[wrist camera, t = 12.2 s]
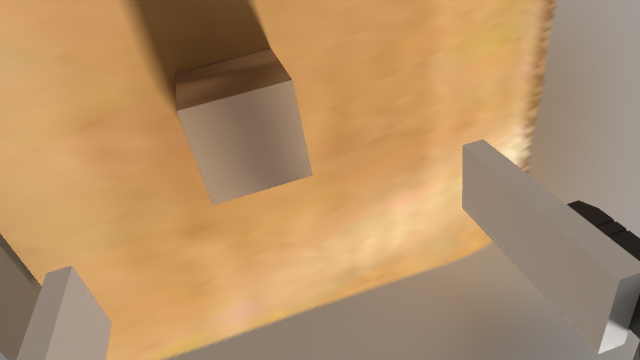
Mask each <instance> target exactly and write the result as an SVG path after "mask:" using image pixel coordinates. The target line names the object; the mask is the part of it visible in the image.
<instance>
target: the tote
mask: <svg viewBox="0 0 640 360" xmlns="http://www.w3.org/2000/svg"><path fill="white" fill-rule="evenodd" d="M41 288H42V287H41V286H40V285H39V283H38V282H37V281H36V279H35V278H34V277H33V276H32V274H31V273H30V272H29V270H28V269H27V268H26V267H25V265H24V264H23V263H22V261H21V260H20V259H19V258H18V256H17V255H16V254H15V252H14V251H13V250H12V249H11V247H10V246H9V245H8V243H7V242H6V241H5V240H4V238H3V237H2V236H1V234H0V360H17V357H18V354H19V351H20V348H21V345H22V342H23V339H24V337H25V334H26V331H27V328H28V325H29V322H30V319H31V317H32V314H33V311H34V308H35V305H36V302H37V299H38V297H39V294H40V291H41Z"/></svg>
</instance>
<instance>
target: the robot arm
mask: <svg viewBox="0 0 640 360" xmlns="http://www.w3.org/2000/svg"><path fill="white" fill-rule="evenodd" d="M462 208H463V209H464V210H465V211H466V212H467V213H468V215H469V216H470V217H471V218H472V219H473V220H474V221H475V222H476V223H477V224H478V225H479V226H480V227H481V229H482V230H483V231H484V232H485V233H486V234H487V235H488V236H489V237H490V238H491V239H492V240H493V241H494V242H495V244H496V245H497V246H498V247H499V248H500V249H501V250H502V251H503V252H504V253H505V254H506V255H507V256H508V258H509V259H510V260H511V261H512V262H513V263H514V264H515V265H516V266H517V267H518V268H519V269H520V270H521V272H522V273H523V274H524V275H525V276H526V277H527V278H528V279H529V280H530V281H531V282H532V283H533V284H534V286H535V287H537V289H538V290H539V291H540V292H541V293H542V294H543V295H544V296H545V297H546V298H547V300H548V301H549V302H550V303H551V304H552V305H553V306H554V307H555V308H556V309H557V310H558V311H559V312H560V314H561V315H562V316H563V317H564V318H565V319H566V320H567V321H568V322H569V323H570V324H571V325H572V326H573V328H574V329H575V330H576V331H577V332H578V333H579V334H580V335H581V336H582V337H583V338H584V339H585V340H586V342H588V344H589V345H590V346H591V347H592V348H593V349H594V350H595V351H596V352H597V353H598V354H599V353H602V352H605V351H607V350H610V349H612V348H615V347H618V346H620V345H623V344H624V343H625V340H626V336H627V334H628V331H629V329H630V330H631V331H632V332H633V333H634V334H635V335H636V336H637V337H638V338H639V339H640V238H638V237H637V236H636V235H634V234H633V233H632V232H630V231H627V230H626V228H625V227H623V226H622V225H621V224H619V223H618V222H614V220H613V219H612V218H611V217H610V216H608V215H607V214H606V213H604V212H603V211H601V210H600V209H599V208H596V207H594V206H592V205H589V204H586V203H584V202H581V201H576V202H572V203H569V204H565V203H564V202H563V201H562V200H560V199H559V198H558V197H556V196H555V195H554V194H552V193H551V192H550V191H549V190H547V189H546V188H545V187H543V186H542V185H541V184H540V183H538V182H537V181H536V180H534V179H533V178H532V177H531V176H529V175H528V174H527V173H526V172H524V171H523V170H522V169H520V168H519V167H518V166H517V165H515V164H514V163H513V162H511V161H510V160H509V159H508V158H506V157H505V156H504V155H503V154H501V153H500V152H499V151H497V150H496V149H495V148H494V147H492V146H491V145H490V144H488V143H487V142H486V141H485V140H483V139H482V140H479V141H476V142H472V143H469V144H466V145H463V190H462ZM110 328H111V321H110V320H109V318H108V317H107V315H106V314H105V312H104V311H103V310H102V308H101V307H100V305H99V304H98V302H97V301H96V299H95V298H94V296H93V295H92V294H91V292H90V291H89V289H88V288H87V286H86V285H85V283H84V282H83V280H82V279H81V278H80V276H79V275H78V273H77V272H76V270H75V269H74V267H73V266H69V267H66V268H62V269H59V270H56V271H53V272H49V273H47V274H46V276H45V279H44V282H43V285H42V288H41V291H40V294H39V297H38V299H37V302H36V305H35V308H34V311H33V314H32V317H31V319H30V322H29V325H28V328H27V331H26V334H25V337H24V339H23V342H22V345H21V348H20V351H19V354H18V357H17V360H106V354H107V348H108V341H109V335H110ZM633 360H640V342H639V345H638V347H637V350H636V353H635V356H634V358H633Z"/></svg>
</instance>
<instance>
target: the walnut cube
mask: <svg viewBox="0 0 640 360" xmlns="http://www.w3.org/2000/svg"><path fill="white" fill-rule="evenodd" d="M175 82H176V110H177V114H178V116H179V119H180V121H181V124H182V127H183V129H184V132H185V134H186V137H187V140H188V142H189V145H190V147H191V150H192V153H193V155H194V158H195V160H196V163H197V166H198V168H199V171H200V173H201V176H202V179H203V181H204V184H205V186H206V189H207V192H208V194H209V197H210V199H211V202H212V205H216V204H219V203H222V202H226V201H229V200H232V199H235V198H239V197H242V196H245V195H249V194H252V193H255V192H259V191H262V190H265V189H269V188H272V187H275V186H278V185H282V184H285V183H288V182H292V181H295V180H298V179H302V178H305V177H308V176H312V170H311V165H310V161H309V156H308V151H307V147H306V142H305V137H304V132H303V128H302V123H301V118H300V114H299V109H298V104H297V100H296V95H295V90H294V85H293V81H292V79H291V77H290V76H289V74H288V73H287V71H286V70H285V68H284V67H283V65H282V64H281V63H280V61H279V60H278V58H277V57H276V55H275V54H274V52H273V51H272V49H267V50H264V51H260V52H256V53H252V54H248V55H244V56H240V57H236V58H232V59H229V60H225V61H221V62H217V63H213V64H209V65H205V66H201V67H197V68H194V69H190V70H186V71H182V72H178V73H175Z"/></svg>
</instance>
